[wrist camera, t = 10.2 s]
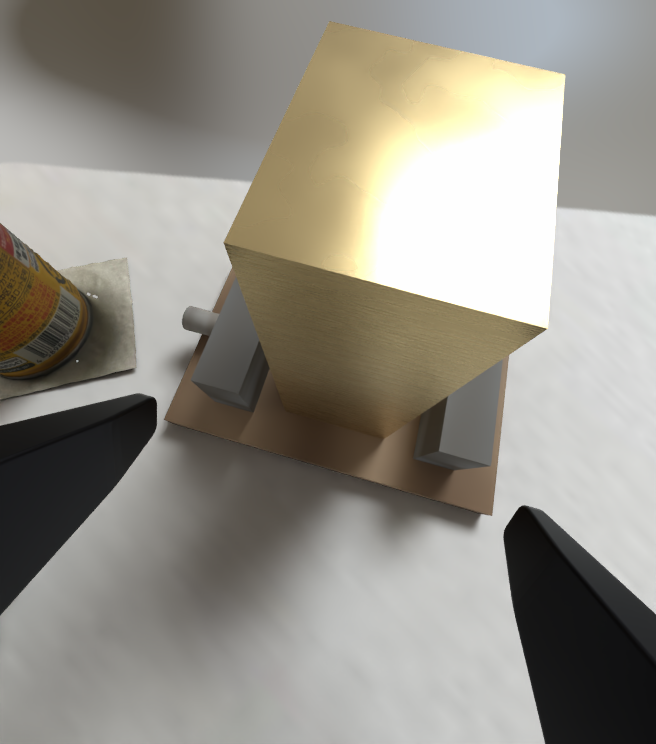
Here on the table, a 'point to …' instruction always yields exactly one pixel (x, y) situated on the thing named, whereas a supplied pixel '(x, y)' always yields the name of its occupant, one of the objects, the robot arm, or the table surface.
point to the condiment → (60, 320)
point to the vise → (330, 442)
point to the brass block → (399, 226)
